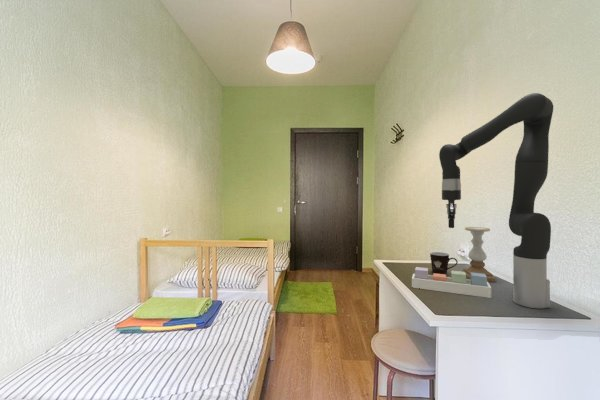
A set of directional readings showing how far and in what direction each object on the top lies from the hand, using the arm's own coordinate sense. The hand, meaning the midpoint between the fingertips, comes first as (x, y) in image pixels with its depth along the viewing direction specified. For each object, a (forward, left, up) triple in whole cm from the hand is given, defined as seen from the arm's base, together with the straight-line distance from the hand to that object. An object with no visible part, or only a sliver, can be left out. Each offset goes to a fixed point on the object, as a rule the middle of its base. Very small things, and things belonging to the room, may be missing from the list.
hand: (451, 227), depth 123 cm
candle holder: (-15, -9, -25) cm, 31 cm away
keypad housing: (+4, +9, -25) cm, 27 cm away
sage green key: (+1, +10, -22) cm, 24 cm away
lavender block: (+14, +6, -22) cm, 27 cm away
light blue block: (-5, +12, -22) cm, 26 cm away
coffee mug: (-1, -14, -25) cm, 29 cm away
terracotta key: (+8, +8, -24) cm, 26 cm away
